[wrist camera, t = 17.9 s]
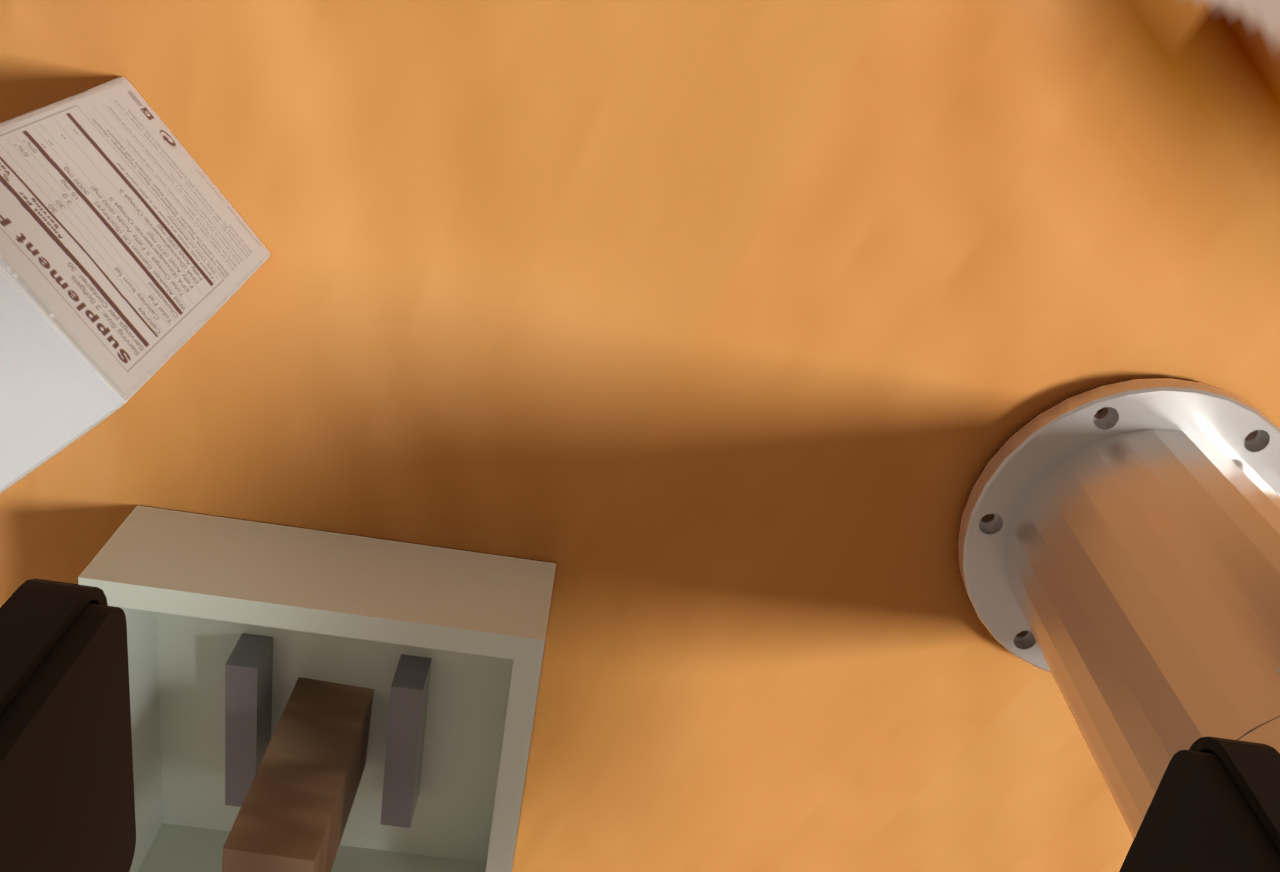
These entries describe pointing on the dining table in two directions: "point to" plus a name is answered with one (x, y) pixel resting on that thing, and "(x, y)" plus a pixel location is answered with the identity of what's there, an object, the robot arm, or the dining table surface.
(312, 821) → the walnut timber post
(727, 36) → the dining table surface
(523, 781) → the pale green tray
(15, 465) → the supplement box
